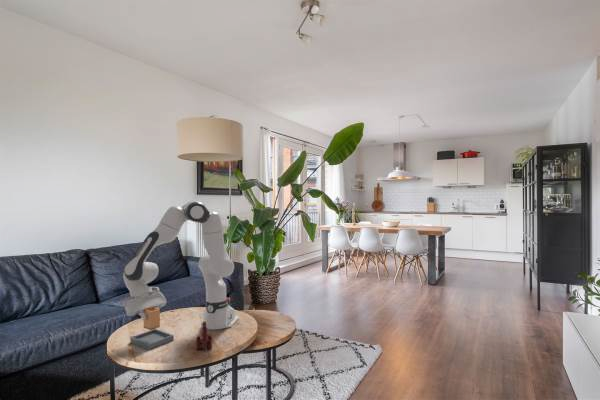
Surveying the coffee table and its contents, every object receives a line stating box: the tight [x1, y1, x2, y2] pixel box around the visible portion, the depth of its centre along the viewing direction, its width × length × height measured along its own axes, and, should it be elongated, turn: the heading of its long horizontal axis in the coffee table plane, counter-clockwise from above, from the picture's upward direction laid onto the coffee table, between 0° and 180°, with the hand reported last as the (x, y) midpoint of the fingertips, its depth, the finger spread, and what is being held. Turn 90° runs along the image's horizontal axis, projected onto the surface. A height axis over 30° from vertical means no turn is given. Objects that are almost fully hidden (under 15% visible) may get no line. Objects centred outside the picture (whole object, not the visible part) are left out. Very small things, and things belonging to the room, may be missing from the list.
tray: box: [130, 328, 175, 351], centre depth 173 cm, size 16×14×2 cm
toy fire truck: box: [196, 322, 213, 351], centre depth 167 cm, size 7×12×10 cm, turn 16°
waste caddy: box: [143, 307, 161, 331], centre depth 173 cm, size 6×5×9 cm
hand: (152, 317), depth 173 cm, fingers closed on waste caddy, 5 cm apart
